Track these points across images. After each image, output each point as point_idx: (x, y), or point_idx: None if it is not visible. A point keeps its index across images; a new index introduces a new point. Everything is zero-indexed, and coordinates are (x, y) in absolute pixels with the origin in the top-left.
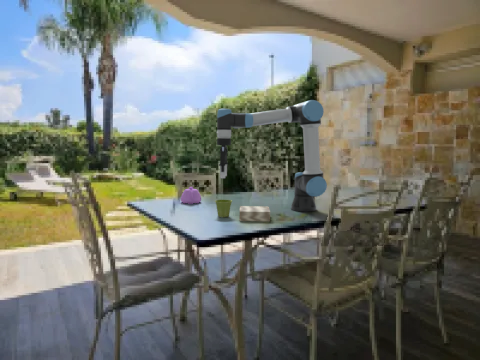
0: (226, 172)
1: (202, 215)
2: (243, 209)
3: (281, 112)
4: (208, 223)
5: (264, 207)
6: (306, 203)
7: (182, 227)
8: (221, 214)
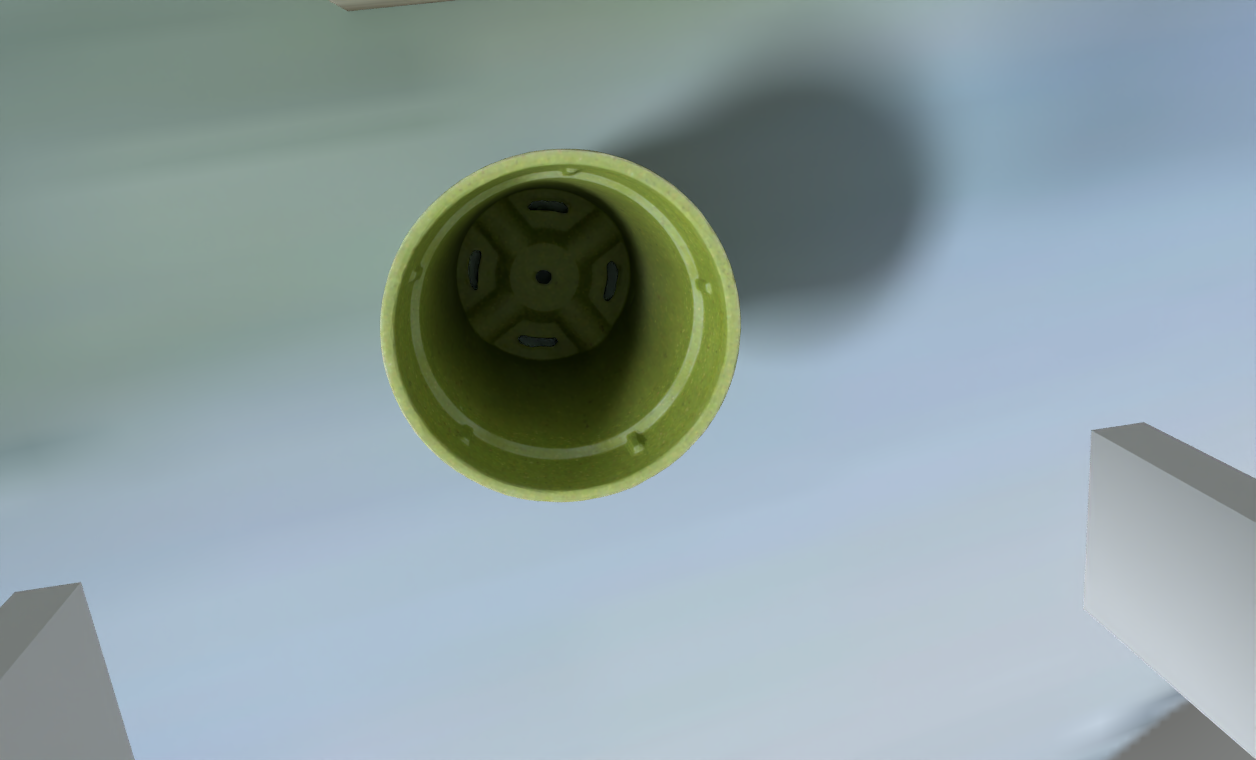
0: (6, 693)
1: (542, 586)
2: None
3: None
4: (1040, 376)
5: None
6: None
7: None
8: (641, 299)
